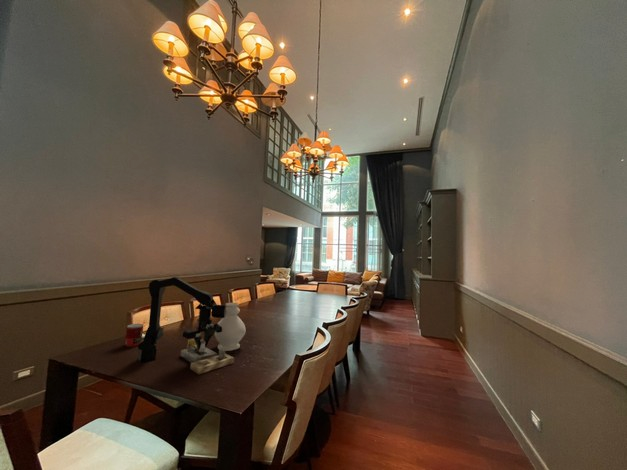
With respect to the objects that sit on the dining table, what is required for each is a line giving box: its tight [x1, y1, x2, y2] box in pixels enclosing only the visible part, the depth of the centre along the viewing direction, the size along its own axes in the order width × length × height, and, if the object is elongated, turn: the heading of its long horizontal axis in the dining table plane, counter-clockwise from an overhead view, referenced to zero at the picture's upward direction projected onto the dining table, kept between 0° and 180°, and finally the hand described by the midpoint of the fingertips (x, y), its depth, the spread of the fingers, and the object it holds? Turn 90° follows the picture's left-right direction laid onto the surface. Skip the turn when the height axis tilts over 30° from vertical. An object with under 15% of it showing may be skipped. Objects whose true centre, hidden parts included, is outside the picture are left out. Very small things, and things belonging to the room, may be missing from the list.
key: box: [186, 338, 199, 351], centre depth 134 cm, size 4×8×4 cm, turn 51°
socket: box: [180, 346, 218, 364], centre depth 131 cm, size 11×16×5 cm
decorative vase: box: [213, 302, 246, 352], centre depth 149 cm, size 18×18×25 cm
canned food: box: [124, 323, 144, 348], centre depth 144 cm, size 8×8×11 cm
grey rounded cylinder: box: [198, 339, 206, 355], centre depth 130 cm, size 3×3×8 cm
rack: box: [190, 349, 235, 375], centre depth 122 cm, size 18×8×6 cm, turn 142°
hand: (201, 348), depth 130 cm, fingers closed on grey rounded cylinder, 3 cm apart
